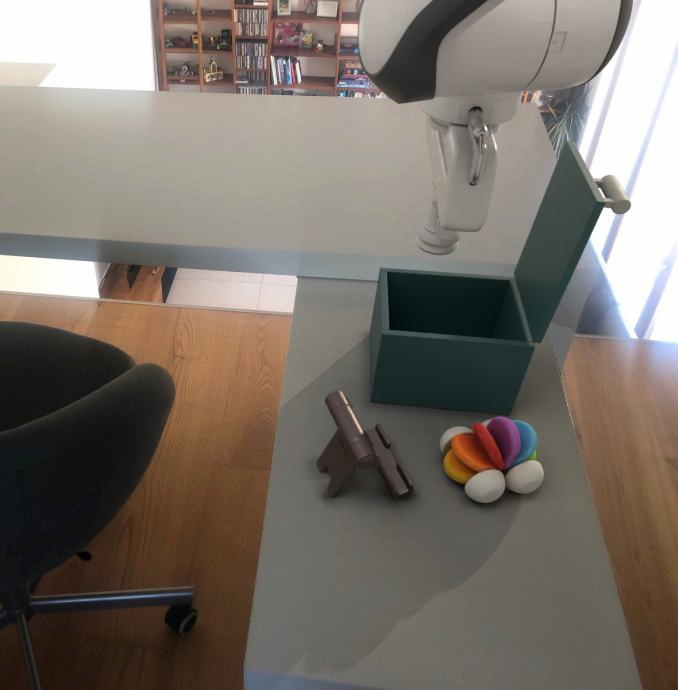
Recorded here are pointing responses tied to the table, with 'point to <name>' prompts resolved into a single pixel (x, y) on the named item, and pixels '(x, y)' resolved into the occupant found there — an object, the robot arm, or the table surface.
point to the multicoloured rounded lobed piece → (492, 458)
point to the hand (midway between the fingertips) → (441, 223)
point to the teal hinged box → (448, 341)
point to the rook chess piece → (434, 235)
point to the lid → (562, 235)
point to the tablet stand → (359, 450)
